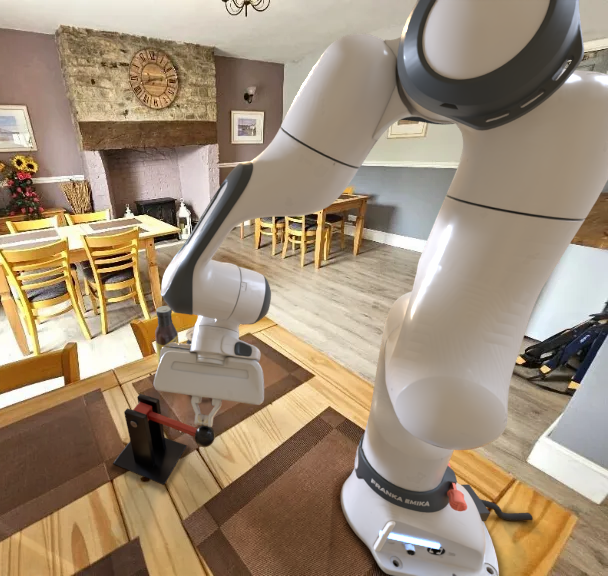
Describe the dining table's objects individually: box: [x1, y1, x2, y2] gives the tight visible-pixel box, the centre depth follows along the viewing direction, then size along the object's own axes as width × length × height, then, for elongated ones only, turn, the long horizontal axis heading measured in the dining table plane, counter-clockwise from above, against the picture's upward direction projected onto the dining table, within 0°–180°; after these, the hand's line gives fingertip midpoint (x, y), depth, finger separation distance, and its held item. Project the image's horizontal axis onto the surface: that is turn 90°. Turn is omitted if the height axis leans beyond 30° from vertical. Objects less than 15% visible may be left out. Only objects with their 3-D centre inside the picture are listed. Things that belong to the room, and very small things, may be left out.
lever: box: [132, 402, 216, 448], centre depth 57 cm, size 16×4×4 cm, turn 68°
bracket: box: [112, 393, 188, 486], centre depth 61 cm, size 12×9×15 cm
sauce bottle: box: [154, 305, 180, 365], centre depth 86 cm, size 6×6×20 cm
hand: (203, 425), depth 54 cm, fingers closed
